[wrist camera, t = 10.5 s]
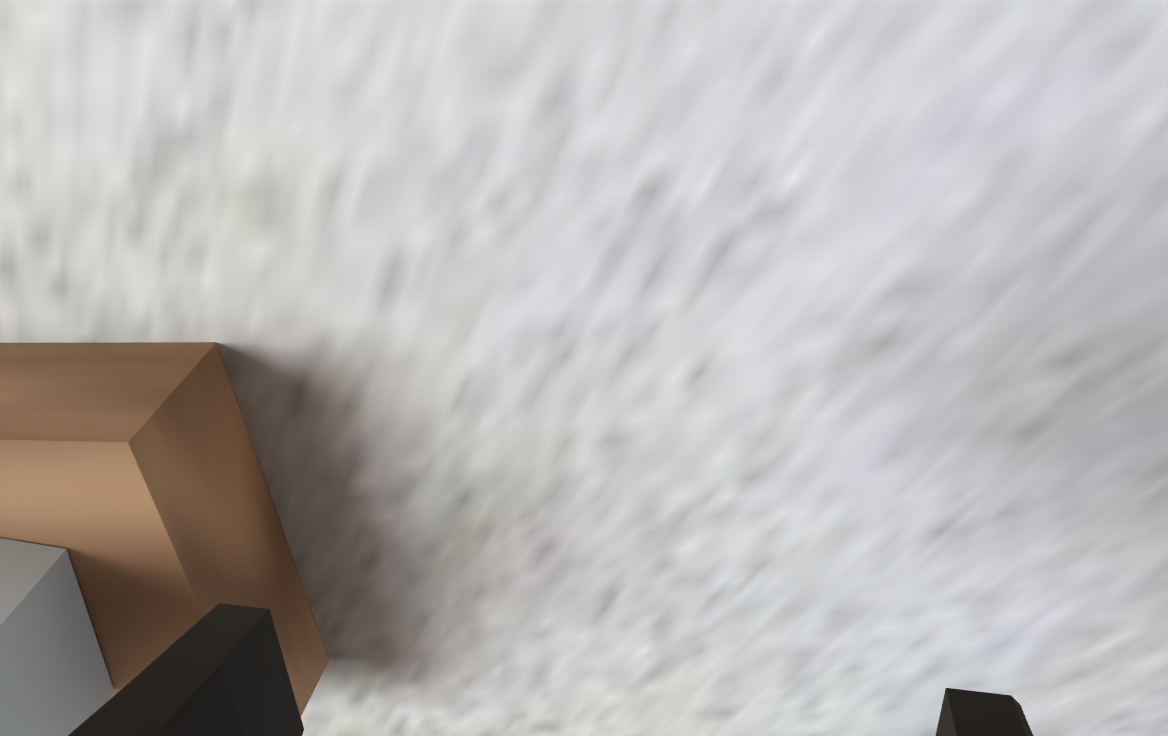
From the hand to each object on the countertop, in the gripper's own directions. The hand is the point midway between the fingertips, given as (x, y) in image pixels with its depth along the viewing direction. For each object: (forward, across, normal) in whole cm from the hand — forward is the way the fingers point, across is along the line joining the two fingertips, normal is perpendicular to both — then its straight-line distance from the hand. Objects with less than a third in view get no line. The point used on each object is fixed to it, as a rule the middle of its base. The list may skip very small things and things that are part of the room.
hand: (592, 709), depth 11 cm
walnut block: (+11, +15, +8) cm, 20 cm away
